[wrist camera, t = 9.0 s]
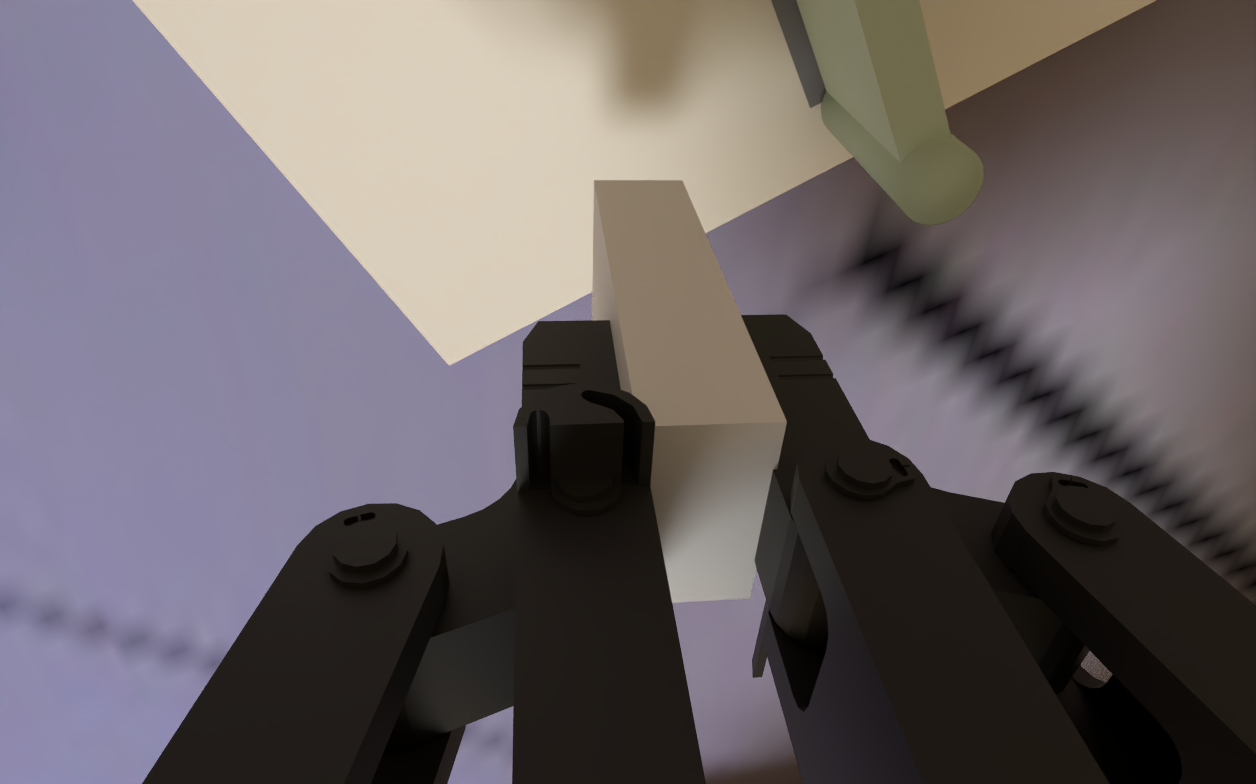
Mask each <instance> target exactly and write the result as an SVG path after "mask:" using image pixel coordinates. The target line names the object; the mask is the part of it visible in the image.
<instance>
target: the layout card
mask: <svg viewBox="0 0 1256 784" xmlns="http://www.w3.org/2000/svg"><path fill="white" fill-rule="evenodd" d="M133 1H134V3H135V4H136V5H137V6H138V7H139V8H140V10H141V11H142V12H143V13H144V14H145V15H146V16H147V18H148V19H149V20H150V21H151V22H152V23H153V25H154V26H155V27H156V28H157V29H158V30H159V31H160V33H161V34H162V35H163V36H164V37H165V38H166V40H167V41H168V42H169V43H170V44H171V45H172V46H173V48H174V49H175V50H176V51H177V52H178V53H179V55H180V56H181V57H182V58H183V59H184V60H185V61H186V63H187V64H188V65H189V66H190V67H191V68H192V70H193V71H194V72H195V73H196V74H197V75H198V76H199V78H200V79H201V80H202V81H203V82H204V83H205V85H206V86H207V87H208V88H209V89H210V90H211V91H212V93H213V94H214V95H215V96H216V97H217V98H218V100H219V101H220V102H221V103H222V104H223V105H224V106H225V108H226V109H227V110H228V111H229V112H230V113H231V115H232V116H233V117H234V118H235V119H236V120H237V121H238V123H239V124H240V125H241V126H242V127H243V128H244V130H245V131H246V132H247V133H248V134H249V135H250V136H251V138H252V139H253V140H254V141H255V142H256V143H257V145H258V146H259V147H260V148H261V149H262V150H263V151H264V153H265V154H266V155H267V156H268V157H269V158H270V160H271V161H272V162H273V163H274V164H275V165H276V166H277V168H278V169H279V170H280V171H281V172H282V173H283V175H284V176H285V177H286V178H287V179H288V180H289V181H290V183H291V184H292V185H293V186H294V187H295V188H296V190H297V191H298V192H299V193H300V194H301V195H302V196H303V198H304V199H305V200H306V201H307V202H308V203H309V205H310V206H311V207H312V208H313V209H314V210H315V211H316V213H317V214H318V215H319V216H320V217H321V218H322V220H323V221H324V222H325V223H326V224H327V225H328V226H329V228H330V229H331V230H332V231H333V232H334V233H335V235H336V236H337V237H338V238H339V239H340V240H341V241H342V243H343V244H344V245H345V246H346V247H347V248H348V250H349V251H350V252H351V253H352V254H353V255H354V256H355V258H356V259H357V260H358V261H359V262H360V263H361V265H362V266H363V267H364V268H365V269H366V270H367V271H368V273H369V274H370V275H371V276H372V277H373V278H374V280H375V281H376V282H377V283H378V284H379V285H380V286H381V288H382V289H383V290H384V291H385V292H386V293H387V295H388V296H389V297H390V298H391V299H392V300H393V301H394V303H395V304H396V305H397V306H398V307H399V308H400V310H401V311H402V312H403V313H404V314H405V315H406V316H407V318H408V319H409V320H410V321H411V322H412V323H413V325H414V326H415V327H416V328H417V329H418V330H419V331H420V333H421V334H422V335H423V336H424V337H425V338H426V339H427V341H428V342H429V343H430V344H431V345H432V346H433V348H434V349H435V350H436V351H437V352H438V353H439V354H440V356H441V357H442V358H443V359H444V360H445V361H446V363H447V364H448V365H451V364H453V363H455V362H457V361H459V360H461V359H463V358H465V357H467V356H469V355H471V354H473V353H475V352H476V351H478V350H480V349H482V348H484V347H486V346H488V345H490V344H492V343H494V342H496V341H498V340H500V339H502V338H504V337H506V336H507V335H509V334H511V333H513V332H515V331H517V330H519V329H521V328H523V327H525V326H527V325H529V324H531V323H533V322H535V321H537V320H538V319H540V318H542V317H544V316H546V315H548V314H550V313H552V312H554V311H556V310H558V309H560V308H562V307H564V306H566V305H567V304H569V303H571V302H573V301H575V300H577V299H579V298H581V297H583V296H585V295H587V294H589V293H591V292H592V283H593V213H594V180H683V183H684V185H685V187H686V190H687V192H688V194H689V197H690V199H691V201H692V204H693V206H694V208H695V211H696V213H697V215H698V217H699V220H700V222H701V224H702V227H703V229H704V231H705V233H707V232H709V231H711V230H713V229H715V228H717V227H719V226H720V225H722V224H724V223H726V222H728V221H730V220H732V219H734V218H736V217H738V216H740V215H742V214H744V213H746V212H748V211H750V210H751V209H753V208H755V207H757V206H759V205H761V204H763V203H765V202H767V201H769V200H771V199H773V198H775V197H777V196H779V195H781V194H782V193H784V192H786V191H788V190H790V189H792V188H794V187H796V186H798V185H800V184H802V183H804V182H806V181H808V180H810V179H812V178H813V177H815V176H817V175H819V174H821V173H823V172H825V171H827V170H829V169H831V168H833V167H835V166H837V165H839V164H841V163H843V162H844V161H846V160H848V159H850V158H852V157H853V156H852V155H851V154H850V153H849V152H848V151H847V150H846V148H845V147H844V146H843V145H842V144H841V143H840V142H839V141H838V140H837V139H836V138H835V136H834V135H833V134H832V133H831V132H830V131H829V130H828V129H827V128H826V126H825V125H824V122H823V120H822V116H821V105H822V101H823V98H824V95H825V93H826V88H825V85H824V82H823V79H822V76H821V73H820V70H819V67H818V64H817V61H816V58H815V55H814V52H813V49H812V46H811V43H810V40H809V37H808V34H807V31H806V28H805V25H804V22H803V19H802V16H801V13H800V10H799V7H798V4H797V1H796V0H133ZM919 1H920V6H921V10H922V14H923V18H924V23H925V27H926V31H927V35H928V40H929V44H930V48H931V52H932V57H933V61H934V65H935V69H936V74H937V78H938V82H939V87H940V91H941V95H942V99H943V104H944V108H945V109H947V108H949V107H951V106H953V105H955V104H957V103H959V102H961V101H963V100H965V99H966V98H968V97H970V96H972V95H974V94H976V93H978V92H980V91H982V90H984V89H986V88H988V87H990V86H992V85H994V84H996V83H997V82H999V81H1001V80H1003V79H1005V78H1007V77H1009V76H1011V75H1013V74H1015V73H1017V72H1019V71H1021V70H1023V69H1025V68H1026V67H1028V66H1030V65H1032V64H1034V63H1036V62H1038V61H1040V60H1042V59H1044V58H1046V57H1048V56H1050V55H1052V54H1054V53H1056V52H1057V51H1059V50H1061V49H1063V48H1065V47H1067V46H1069V45H1071V44H1073V43H1075V42H1077V41H1079V40H1081V39H1083V38H1085V37H1087V36H1088V35H1090V34H1092V33H1094V32H1096V31H1098V30H1100V29H1102V28H1104V27H1106V26H1108V25H1110V24H1112V23H1114V22H1116V21H1118V20H1119V19H1121V18H1123V17H1125V16H1127V15H1129V14H1131V13H1133V12H1135V11H1137V10H1139V9H1141V8H1143V7H1145V6H1147V5H1149V4H1150V3H1152V2H1154V1H1156V0H919Z"/></svg>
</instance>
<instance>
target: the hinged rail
mask: <svg viewBox="0 0 1256 784" xmlns="http://www.w3.org/2000/svg"><path fill="white" fill-rule="evenodd" d="M796 1H797V4H798V7H799V10H800V13H801V16H802V19H803V22H804V25H805V28H806V31H807V34H808V37H809V40H810V43H811V46H812V49H813V52H814V55H815V58H816V61H817V64H818V67H819V70H820V73H821V76H822V79H823V82H824V85H825V88H826V93H825V95H824V98H823V101H822V105H821V116H822V120H823V122H824V125H825V126H826V128H827V129H828V130H829V131H830V132H831V133H832V134H833V135H834V136H835V138H836V139H837V140H838V141H839V142H840V143H841V144H842V145H843V146H844V147H845V148H846V150H847V151H848V152H849V153H850V154H851V155H852V156H853V157H854V158H855V159H856V160H857V162H858V163H859V164H860V165H861V166H862V167H863V168H864V169H865V170H866V171H867V172H868V174H869V175H870V176H871V177H872V178H873V179H874V180H875V181H876V182H877V183H878V184H879V186H880V187H881V188H882V189H883V190H884V191H885V192H886V193H887V194H888V195H889V196H890V198H891V199H892V200H893V201H894V202H895V203H896V204H897V205H898V206H899V207H900V208H901V210H902V211H903V212H904V213H905V214H906V215H907V216H908V217H909V218H910V219H911V220H913V221H915V222H916V223H919V224H923V225H937V224H942V223H945V222H947V221H950V220H952V219H954V218H956V217H957V216H959V215H960V214H961V213H963V212H964V211H965V210H966V209H967V208H968V207H969V206H970V205H971V204H972V203H973V201H974V200H975V198H976V197H977V195H978V193H979V191H980V189H981V186H982V183H983V177H984V170H983V165H982V162H981V160H980V158H979V156H978V155H977V154H976V153H975V152H974V151H973V150H971V149H970V148H969V147H968V146H966V145H965V144H964V143H963V142H961V141H960V140H959V139H957V138H956V137H955V136H954V135H952V134H951V133H950V129H949V125H948V121H947V116H946V112H945V108H944V104H943V99H942V95H941V91H940V87H939V82H938V78H937V74H936V69H935V65H934V61H933V57H932V52H931V48H930V44H929V40H928V35H927V31H926V27H925V23H924V18H923V14H922V10H921V6H920V1H919V0H796Z"/></svg>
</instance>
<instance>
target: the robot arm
mask: <svg viewBox="0 0 1256 784" xmlns="http://www.w3.org/2000/svg"><path fill="white" fill-rule="evenodd" d="M513 430H514V446H515V462H516V480H515V482H514V484H513V485H512V487H511V488H510V489H509V490H508V491H507V492H506V493H505V494H504V495H503V496H502V497H501V498H500V499H499V500H497V501H496V502H494V503H493V504H491V505H490V506H488V507H486V508H485V509H483V510H481V511H478V512H475V513H473V514H470V515H468V516H465V517H462V518H459V519H455V520H452V521H449V522H445V523H442V524H438V525H436V523H434V522H433V521H432V520H431V519H429V518H428V517H427V516H426V515H425V514H423V513H422V512H421V511H420V510H416V509H413V508H410V507H406V506H403V505H399V504H396V503H395V504H366V505H363V506H359V507H356V508H352V509H348V510H345V511H341V512H339V513H337V514H336V515H334V516H332V517H330V518H329V519H327V520H325V521H324V522H322V523H320V524H318V525H317V526H315V527H314V528H313V529H312V530H311V532H310V533H309V534H308V535H307V536H306V537H305V538H304V539H303V540H302V541H301V542H300V543H299V544H298V545H297V547H296V548H295V550H294V551H293V553H292V554H291V556H290V558H289V559H288V561H287V562H286V564H285V565H284V567H283V568H282V570H281V571H280V573H279V574H278V576H277V577H276V579H275V581H274V582H273V584H272V585H271V587H270V588H269V590H268V591H267V593H266V594H265V596H264V597H263V599H262V601H261V602H260V604H259V605H258V607H257V608H256V610H255V611H254V613H253V614H252V616H251V617H250V619H249V620H248V622H247V624H246V625H245V627H244V628H243V630H242V631H241V633H240V634H239V636H238V637H237V639H236V640H235V642H234V643H233V645H232V647H231V648H230V650H229V651H228V653H227V654H226V656H225V657H224V659H223V660H222V662H221V663H220V665H219V667H218V668H217V670H216V671H215V673H214V674H213V676H212V677H211V679H210V680H209V682H208V683H207V685H206V686H205V688H204V690H203V691H202V693H201V694H200V696H199V697H198V699H197V700H196V702H195V703H194V705H193V706H192V708H191V709H190V711H189V713H188V714H187V716H186V717H185V719H184V720H183V722H182V723H181V725H180V726H179V728H178V729H177V731H176V733H175V734H174V736H173V737H172V739H171V740H170V742H169V743H168V745H167V746H166V748H165V749H164V751H163V752H162V754H161V756H160V757H159V759H158V760H157V762H156V763H155V765H154V766H153V768H152V769H151V771H150V772H149V774H148V775H147V777H146V779H145V780H144V782H143V783H142V784H447V783H448V780H449V777H450V774H451V770H452V767H453V764H454V761H455V758H456V755H457V752H458V749H459V746H460V743H461V740H462V737H463V734H464V731H465V727H466V725H467V724H469V723H472V722H474V721H477V720H479V719H482V718H484V717H487V716H489V715H492V714H494V713H497V712H499V711H502V710H504V709H507V708H509V707H512V706H514V718H513V776H512V784H706V782H705V777H704V772H703V766H702V761H701V756H700V750H699V745H698V739H697V734H696V729H695V723H694V718H693V713H692V707H691V702H690V696H689V691H688V686H687V680H686V675H685V669H684V664H683V659H682V653H681V648H680V643H679V637H678V632H677V626H676V621H675V616H674V610H673V605H672V603H677V602H695V601H712V600H729V599H747V598H750V596H751V592H752V587H753V582H754V577H755V573H756V568H757V571H758V574H759V578H760V581H761V584H762V587H763V591H764V594H765V597H766V602H765V606H764V611H763V615H762V619H761V624H760V628H759V633H758V637H757V641H756V646H755V650H754V654H753V659H752V668H753V678H754V677H762V675H763V671H764V667H765V663H766V659H767V657H768V661H769V664H770V668H771V671H772V675H773V679H774V682H775V686H776V689H777V693H778V696H779V700H780V703H781V707H782V710H783V714H784V717H785V721H786V725H787V728H788V732H789V735H790V739H791V742H792V746H793V749H794V753H795V756H796V760H797V763H798V767H799V771H800V774H801V778H802V781H803V784H1256V605H1255V604H1253V603H1252V602H1251V601H1250V600H1249V599H1247V598H1246V597H1245V596H1244V595H1242V594H1241V593H1240V592H1239V591H1238V590H1236V589H1235V588H1234V587H1233V586H1231V585H1230V584H1229V583H1228V582H1227V581H1225V580H1224V579H1223V578H1222V577H1220V576H1219V575H1218V574H1217V573H1215V572H1214V571H1213V570H1212V569H1211V568H1209V567H1208V566H1207V565H1206V564H1204V563H1203V562H1202V561H1201V560H1200V559H1198V558H1197V557H1196V556H1195V555H1193V554H1192V553H1191V552H1190V551H1189V550H1187V549H1186V548H1185V547H1184V546H1182V545H1181V544H1180V543H1179V542H1177V541H1176V540H1175V539H1174V538H1173V537H1171V536H1170V535H1169V534H1168V533H1166V532H1165V531H1164V530H1163V529H1162V528H1160V527H1159V526H1158V525H1157V524H1155V523H1154V522H1153V521H1152V520H1151V519H1149V518H1148V517H1147V516H1146V515H1144V514H1143V513H1142V512H1141V511H1139V510H1138V509H1137V508H1136V507H1135V506H1133V505H1132V504H1131V503H1129V502H1128V501H1126V500H1125V499H1123V498H1122V497H1120V496H1119V495H1117V494H1116V493H1114V492H1113V491H1111V490H1109V489H1108V488H1106V487H1104V486H1101V485H1099V484H1096V483H1094V482H1091V481H1089V480H1086V479H1084V478H1081V477H1078V476H1072V475H1067V474H1061V473H1056V472H1047V473H1033V474H1029V475H1027V476H1025V477H1023V478H1021V479H1019V480H1017V481H1015V483H1014V485H1013V487H1012V489H1011V491H1010V493H1009V495H1008V497H1007V500H1006V502H1005V503H1002V502H997V501H992V500H987V499H981V498H976V497H971V496H966V495H960V494H955V493H950V492H946V491H942V490H939V489H935V488H931V487H930V486H929V484H928V482H927V481H926V479H925V478H924V476H923V474H922V473H921V472H920V471H919V470H918V469H917V468H916V466H915V465H914V464H913V463H912V462H911V461H910V460H909V459H908V458H907V457H905V456H904V455H902V454H900V453H899V452H897V451H895V450H894V449H892V448H891V447H889V446H887V445H884V444H881V443H878V442H875V441H872V440H870V439H869V438H868V436H867V434H866V432H865V430H864V429H863V427H862V425H861V423H860V421H859V420H858V418H857V416H856V414H855V412H854V411H853V409H852V407H851V405H850V403H849V402H848V400H847V398H846V396H845V394H844V393H843V391H842V389H841V387H840V385H839V384H838V382H837V380H836V378H833V373H832V371H831V369H830V367H829V366H828V364H827V362H826V360H823V355H822V353H821V351H820V349H819V348H818V346H817V344H816V342H815V340H814V339H813V337H812V335H811V333H809V332H808V331H807V330H805V329H804V328H803V327H802V326H800V325H799V324H798V323H796V322H795V321H794V320H792V319H791V318H790V317H788V316H787V315H741V314H740V312H739V310H738V308H737V305H736V303H735V301H734V298H733V296H732V294H731V291H730V289H729V287H728V284H727V282H726V280H725V278H724V275H723V273H722V271H721V268H720V266H719V264H718V261H717V259H716V257H715V254H714V252H713V250H712V247H711V245H710V243H709V241H708V238H707V236H706V234H705V231H704V229H703V227H702V224H701V222H700V220H699V217H698V215H697V213H696V211H695V208H694V206H693V204H692V201H691V199H690V197H689V194H688V192H687V190H686V187H685V185H684V183H683V180H594V213H593V283H592V321H538V323H537V324H536V325H535V327H534V328H533V329H532V331H531V332H530V333H529V335H528V336H527V337H526V339H525V340H524V341H523V372H522V407H521V408H520V409H519V411H518V414H517V417H516V420H515V423H514V426H513ZM1089 651H1091V652H1092V653H1093V654H1094V655H1095V656H1096V657H1097V658H1098V659H1099V660H1100V661H1101V662H1102V663H1103V664H1104V666H1105V667H1106V668H1107V669H1108V670H1109V671H1110V672H1111V673H1112V674H1113V675H1112V676H1111V678H1110V679H1109V680H1108V682H1103V681H1101V680H1098V679H1096V678H1094V677H1093V676H1091V675H1090V674H1089V673H1088V672H1087V671H1086V670H1084V669H1083V668H1082V667H1081V666H1080V664H1081V663H1082V661H1083V660H1084V658H1085V657H1086V655H1087V654H1088V652H1089Z"/></svg>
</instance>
